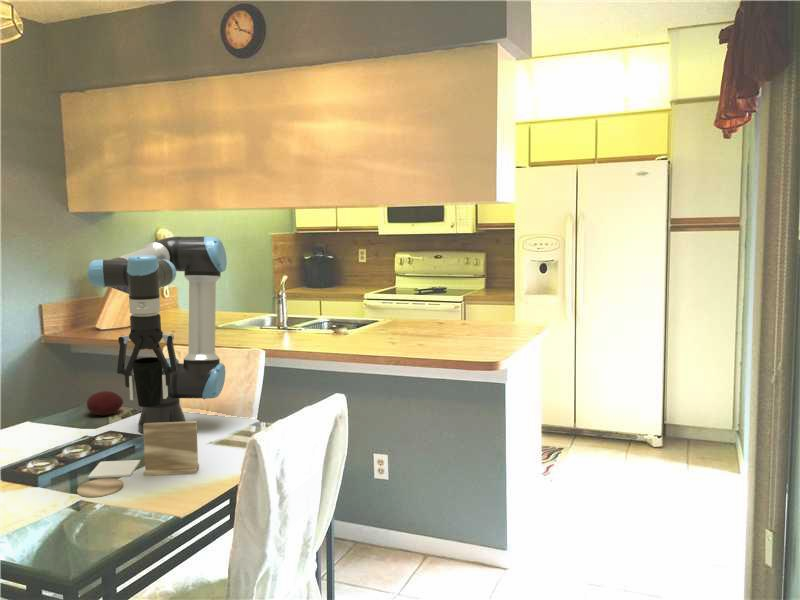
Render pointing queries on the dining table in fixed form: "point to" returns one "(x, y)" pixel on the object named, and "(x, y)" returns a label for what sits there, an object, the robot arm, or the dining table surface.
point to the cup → (148, 381)
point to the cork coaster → (100, 487)
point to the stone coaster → (114, 469)
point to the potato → (104, 403)
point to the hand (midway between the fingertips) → (149, 397)
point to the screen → (170, 448)
